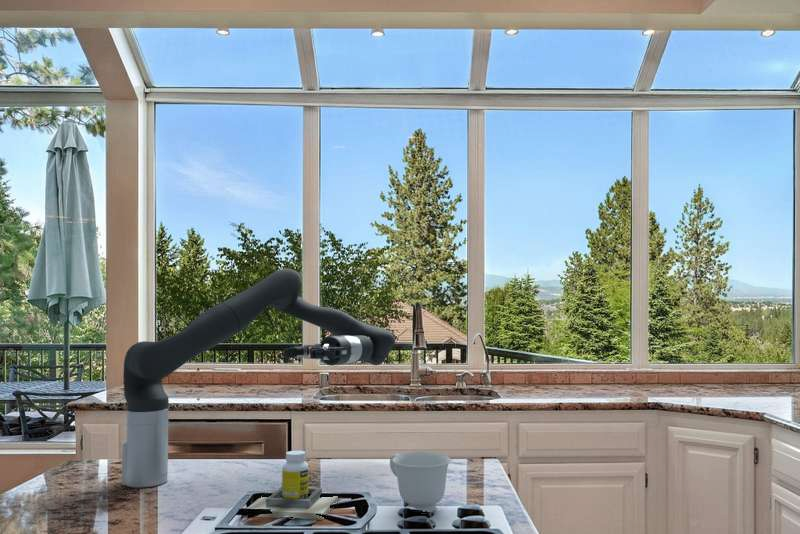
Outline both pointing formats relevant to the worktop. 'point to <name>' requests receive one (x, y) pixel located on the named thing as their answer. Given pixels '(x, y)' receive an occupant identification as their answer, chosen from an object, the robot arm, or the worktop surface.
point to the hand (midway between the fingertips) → (298, 353)
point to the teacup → (421, 478)
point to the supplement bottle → (295, 476)
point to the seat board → (296, 505)
